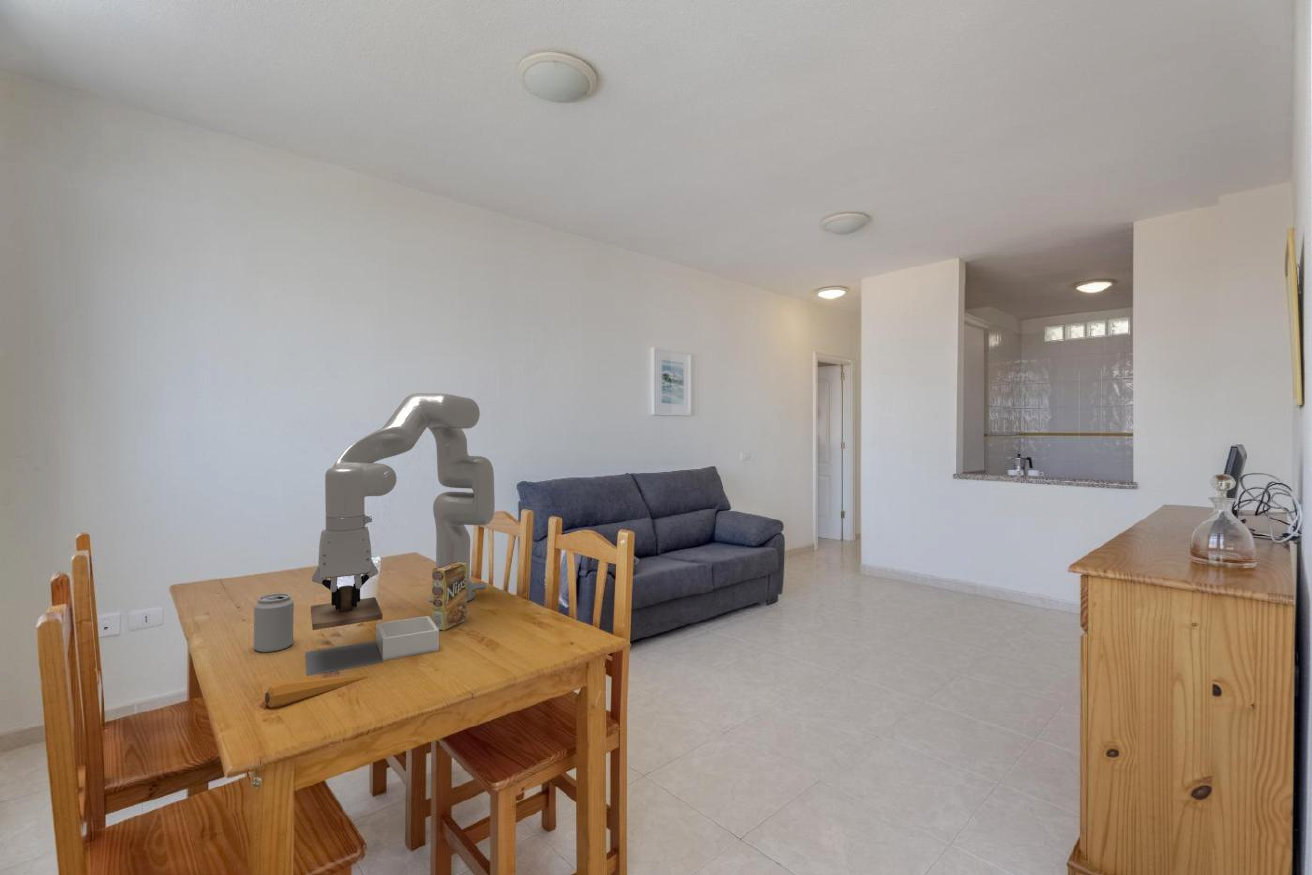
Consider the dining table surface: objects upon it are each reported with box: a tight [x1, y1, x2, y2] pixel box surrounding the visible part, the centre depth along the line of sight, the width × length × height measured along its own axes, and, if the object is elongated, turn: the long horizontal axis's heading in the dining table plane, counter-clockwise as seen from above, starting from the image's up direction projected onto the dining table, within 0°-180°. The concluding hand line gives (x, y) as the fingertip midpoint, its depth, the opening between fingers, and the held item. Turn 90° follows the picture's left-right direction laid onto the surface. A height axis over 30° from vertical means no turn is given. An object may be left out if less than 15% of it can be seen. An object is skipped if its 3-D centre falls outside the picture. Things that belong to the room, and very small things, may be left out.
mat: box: [304, 640, 383, 677], centre depth 129 cm, size 14×14×1 cm
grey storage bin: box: [375, 615, 440, 661], centre depth 135 cm, size 12×12×5 cm
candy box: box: [431, 562, 468, 632], centre depth 152 cm, size 9×4×15 cm, turn 160°
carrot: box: [264, 674, 372, 709], centre depth 113 cm, size 20×4×4 cm, turn 140°
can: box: [253, 592, 295, 653], centre depth 134 cm, size 8×8×12 cm
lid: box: [310, 584, 383, 631], centre depth 129 cm, size 13×13×6 cm
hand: (345, 606), depth 129 cm, fingers closed on lid, 2 cm apart
